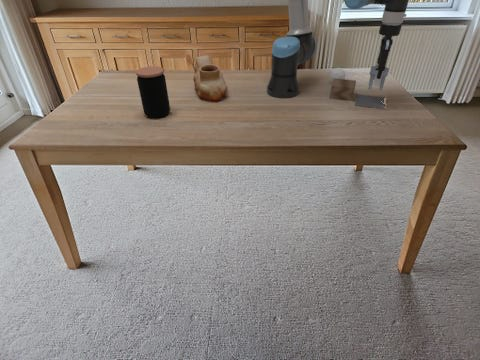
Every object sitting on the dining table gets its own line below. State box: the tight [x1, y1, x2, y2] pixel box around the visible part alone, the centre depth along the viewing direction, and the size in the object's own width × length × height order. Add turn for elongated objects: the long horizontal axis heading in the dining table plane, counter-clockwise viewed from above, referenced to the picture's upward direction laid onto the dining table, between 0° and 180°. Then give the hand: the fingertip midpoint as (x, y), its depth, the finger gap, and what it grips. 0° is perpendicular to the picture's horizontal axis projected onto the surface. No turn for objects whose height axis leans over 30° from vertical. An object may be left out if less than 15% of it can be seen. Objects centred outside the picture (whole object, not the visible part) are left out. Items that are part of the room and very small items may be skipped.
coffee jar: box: [135, 65, 171, 120], centre depth 123 cm, size 11×11×18 cm
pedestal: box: [329, 78, 357, 102], centre depth 140 cm, size 10×10×6 cm
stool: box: [367, 65, 390, 91], centre depth 130 cm, size 7×7×8 cm
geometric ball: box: [328, 67, 347, 84], centre depth 153 cm, size 8×8×8 cm
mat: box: [354, 93, 388, 109], centre depth 136 cm, size 13×13×1 cm
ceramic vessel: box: [192, 54, 228, 103], centre depth 143 cm, size 14×26×15 cm, turn 19°
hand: (376, 82), depth 131 cm, fingers closed on stool, 7 cm apart
